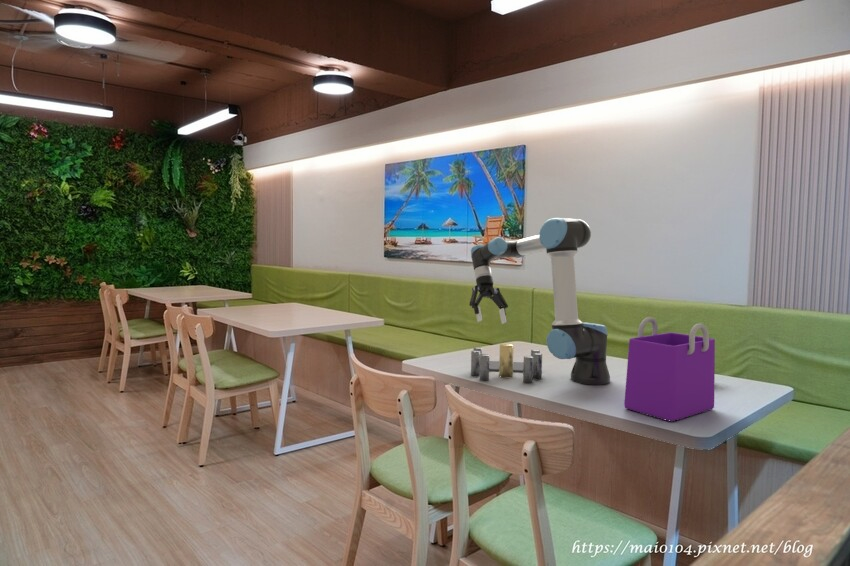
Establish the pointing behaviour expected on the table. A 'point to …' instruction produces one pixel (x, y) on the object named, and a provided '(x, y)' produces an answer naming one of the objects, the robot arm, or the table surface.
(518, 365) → the mat
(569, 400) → the table surface
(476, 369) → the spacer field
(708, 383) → the shopping bag
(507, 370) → the brass canister
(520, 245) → the robot arm
